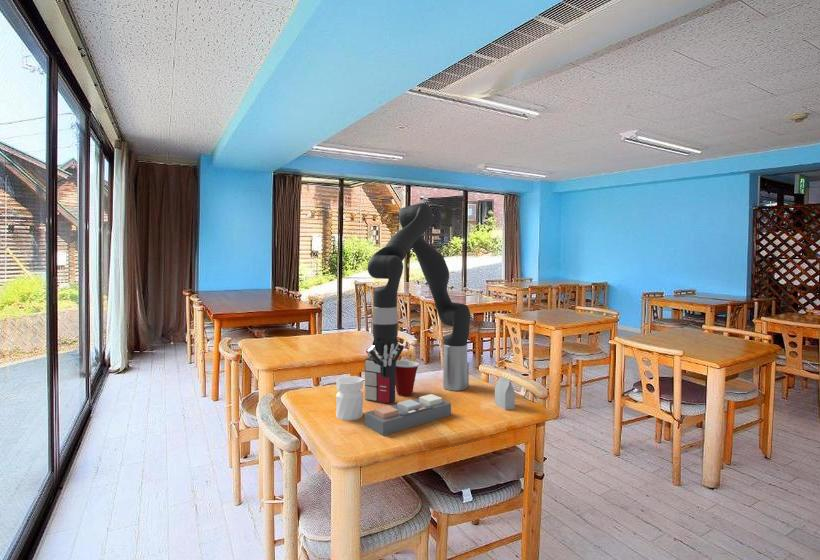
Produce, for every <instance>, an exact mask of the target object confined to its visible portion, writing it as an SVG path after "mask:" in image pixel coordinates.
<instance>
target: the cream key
mask: <svg viewBox="0 0 820 560" xmlns="http://www.w3.org/2000/svg"><path fill="white" fill-rule="evenodd" d="M418 399H419V402H420V403H423V404H425V405H427V406H433V405H437V404H440V403H442V400H443V397H441V396H438V395H437V394H436V395H435V394H434V393H430V394H425V395H422V396H419V398H418Z"/></svg>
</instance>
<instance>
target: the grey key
mask: <svg viewBox="0 0 820 560" xmlns="http://www.w3.org/2000/svg"><path fill="white" fill-rule="evenodd" d="M413 400H414V399H407V400H403V401H399V402H397V403H396V404H397V408H399V409H401V410H403V411H405V412H408V411H412V410H416V409H419V408H421V404H420V403H418V402H416V401H413Z"/></svg>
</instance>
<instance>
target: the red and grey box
mask: <svg viewBox="0 0 820 560" xmlns="http://www.w3.org/2000/svg"><path fill="white" fill-rule="evenodd" d="M395 372H396V362H395V363H392V364H391V374H390V376H389V378H382V376H381V375H380V365H377V364H375V363H374V362H373V361H372V359H371V358H370V357H369V356H368V357H367V358H365V359H364V397H365V400H367V401H371V402H372V401H373V402H378V403H383V404H386V405H391V404H393V403H395V402H396V386H395Z"/></svg>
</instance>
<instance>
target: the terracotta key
mask: <svg viewBox="0 0 820 560" xmlns="http://www.w3.org/2000/svg"><path fill="white" fill-rule="evenodd" d="M391 406H392V405H390V404H386V405H382V406H379V407H376V408H375V407H374V408H373V410H374V415H376V416H378V417H380V418H382V419H386V418H390V417H393V416H397V415H398V410H397V409H395V408H393V407H391Z"/></svg>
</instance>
